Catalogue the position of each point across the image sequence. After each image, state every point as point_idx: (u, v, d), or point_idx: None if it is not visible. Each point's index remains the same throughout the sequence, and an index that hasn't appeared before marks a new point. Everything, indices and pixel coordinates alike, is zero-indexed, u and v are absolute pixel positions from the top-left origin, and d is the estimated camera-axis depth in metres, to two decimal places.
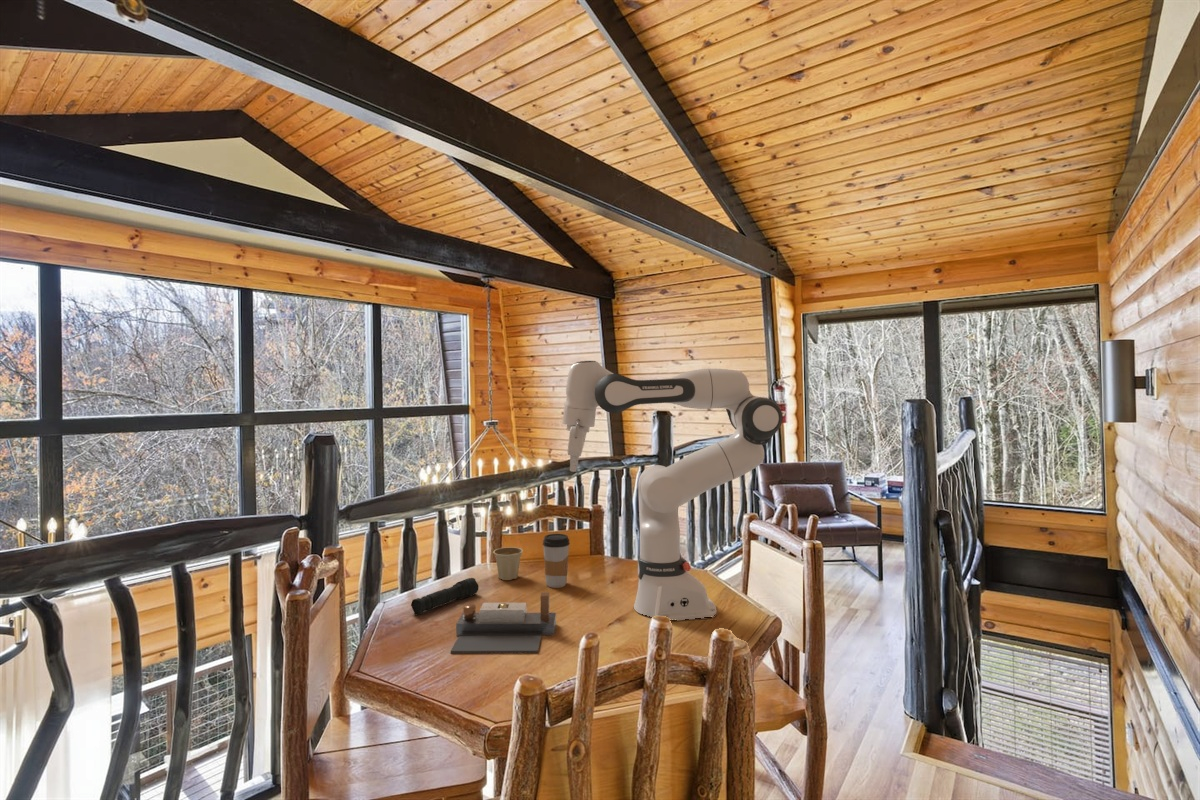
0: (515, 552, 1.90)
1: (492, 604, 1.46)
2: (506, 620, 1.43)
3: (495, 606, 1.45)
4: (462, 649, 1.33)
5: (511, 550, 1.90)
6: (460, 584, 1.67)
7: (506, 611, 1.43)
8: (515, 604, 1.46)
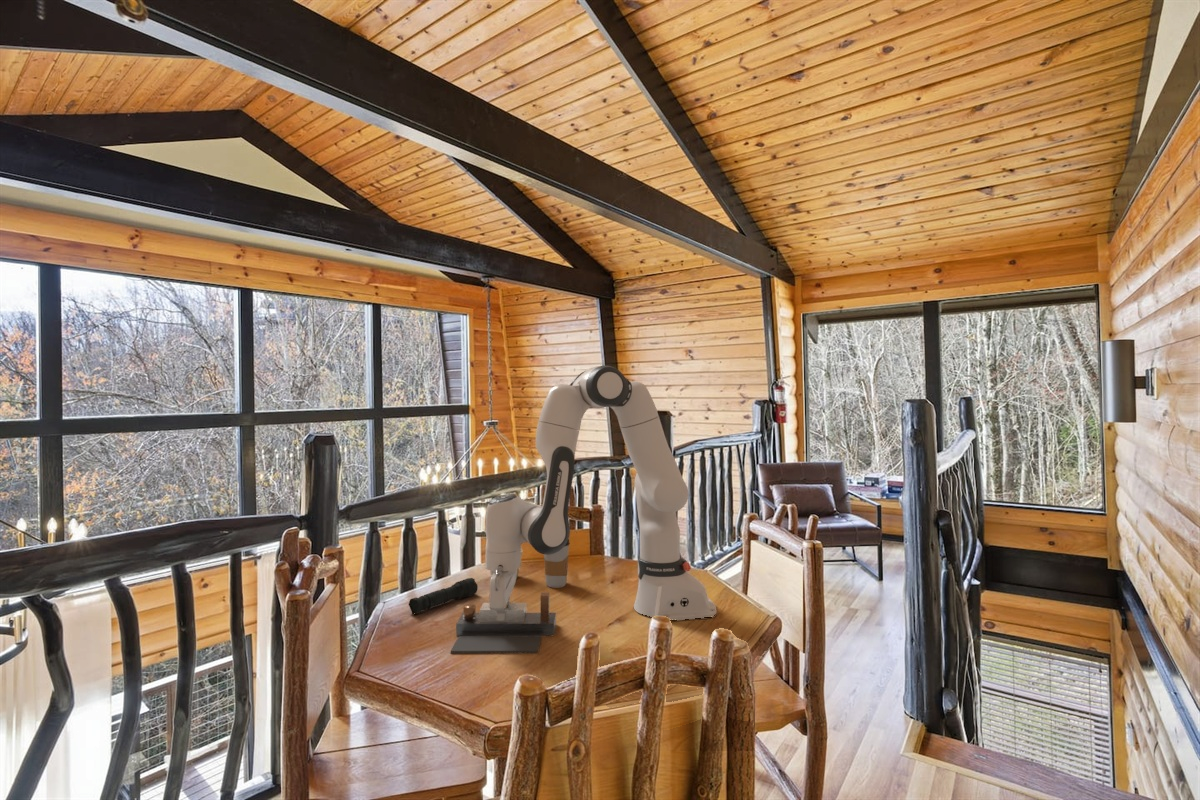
0: None
1: None
2: (506, 620, 1.43)
3: None
4: (462, 649, 1.33)
5: None
6: (459, 584, 1.67)
7: (506, 611, 1.43)
8: (515, 604, 1.46)
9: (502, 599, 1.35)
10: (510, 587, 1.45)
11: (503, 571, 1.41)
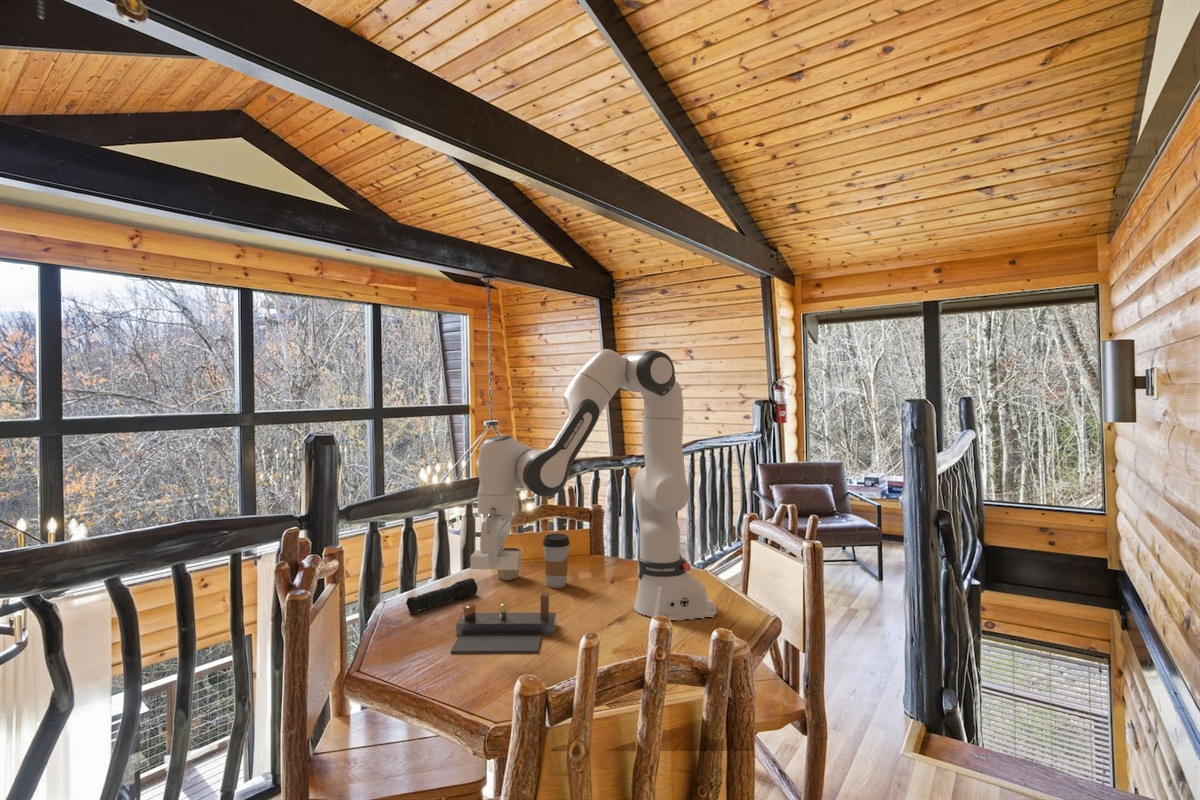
0: None
1: None
2: (499, 567, 1.34)
3: None
4: (462, 649, 1.33)
5: (511, 550, 1.90)
6: (458, 584, 1.67)
7: (499, 558, 1.34)
8: (509, 552, 1.38)
9: (494, 542, 1.27)
10: (504, 533, 1.37)
11: (496, 514, 1.32)
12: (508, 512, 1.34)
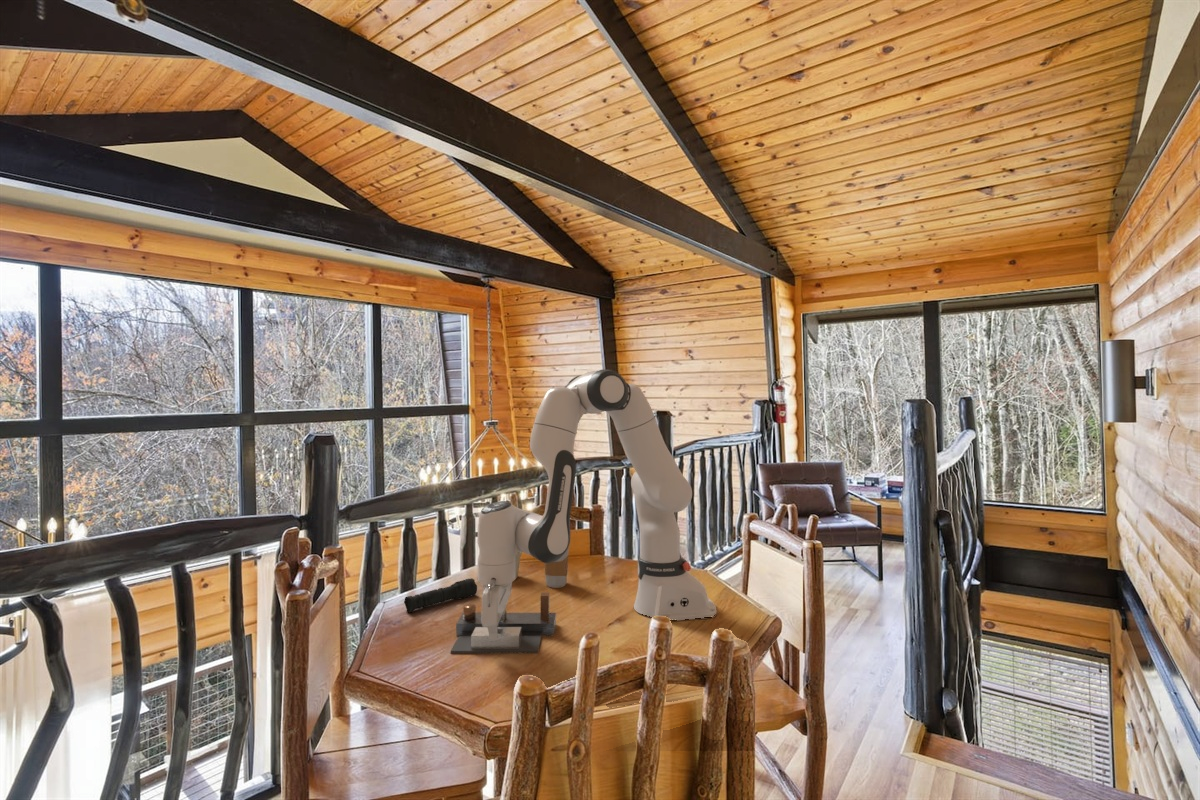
0: None
1: (485, 629, 1.37)
2: (500, 647, 1.33)
3: None
4: (462, 649, 1.33)
5: None
6: (457, 584, 1.67)
7: (500, 637, 1.33)
8: (509, 629, 1.37)
9: (495, 615, 1.26)
10: (504, 601, 1.36)
11: (496, 585, 1.31)
12: (508, 581, 1.33)
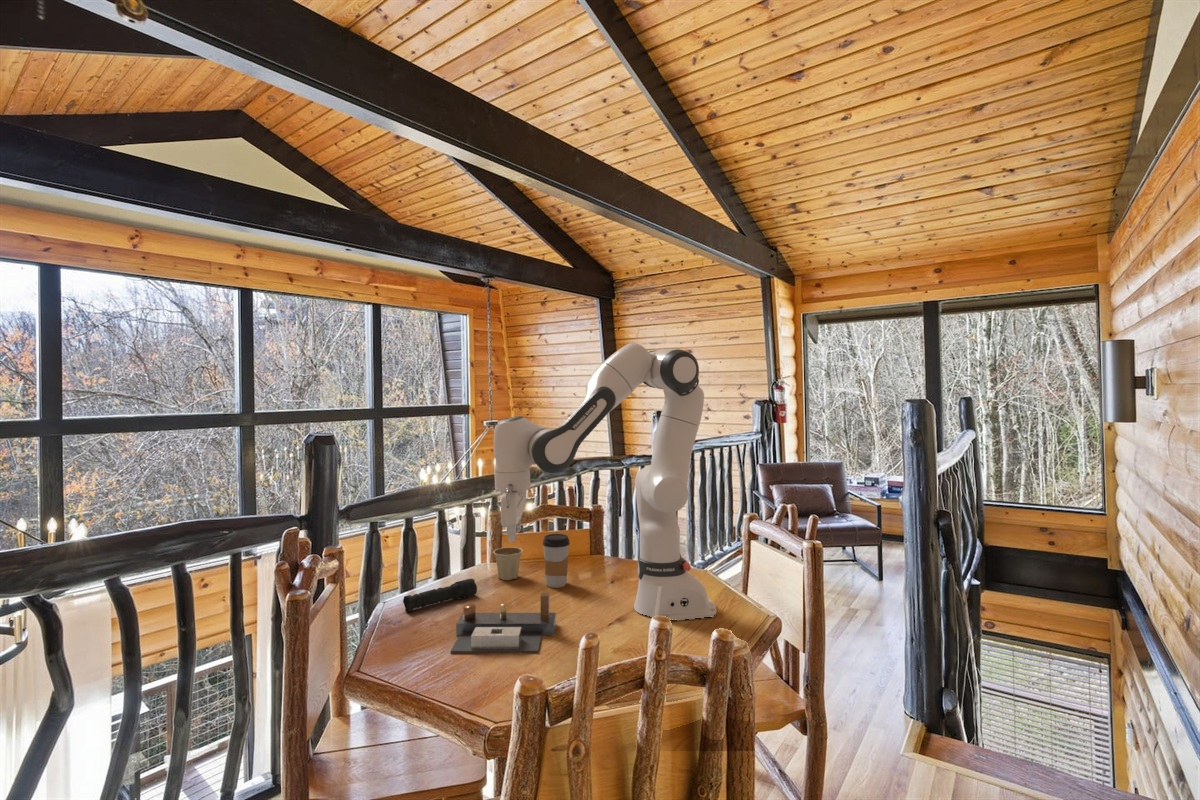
0: (515, 552, 1.90)
1: (485, 629, 1.37)
2: (500, 647, 1.33)
3: (488, 631, 1.36)
4: (462, 649, 1.33)
5: (511, 550, 1.90)
6: (457, 584, 1.67)
7: (500, 637, 1.33)
8: (509, 629, 1.37)
9: (514, 515, 1.35)
10: (520, 509, 1.45)
11: (513, 490, 1.40)
12: (524, 488, 1.42)
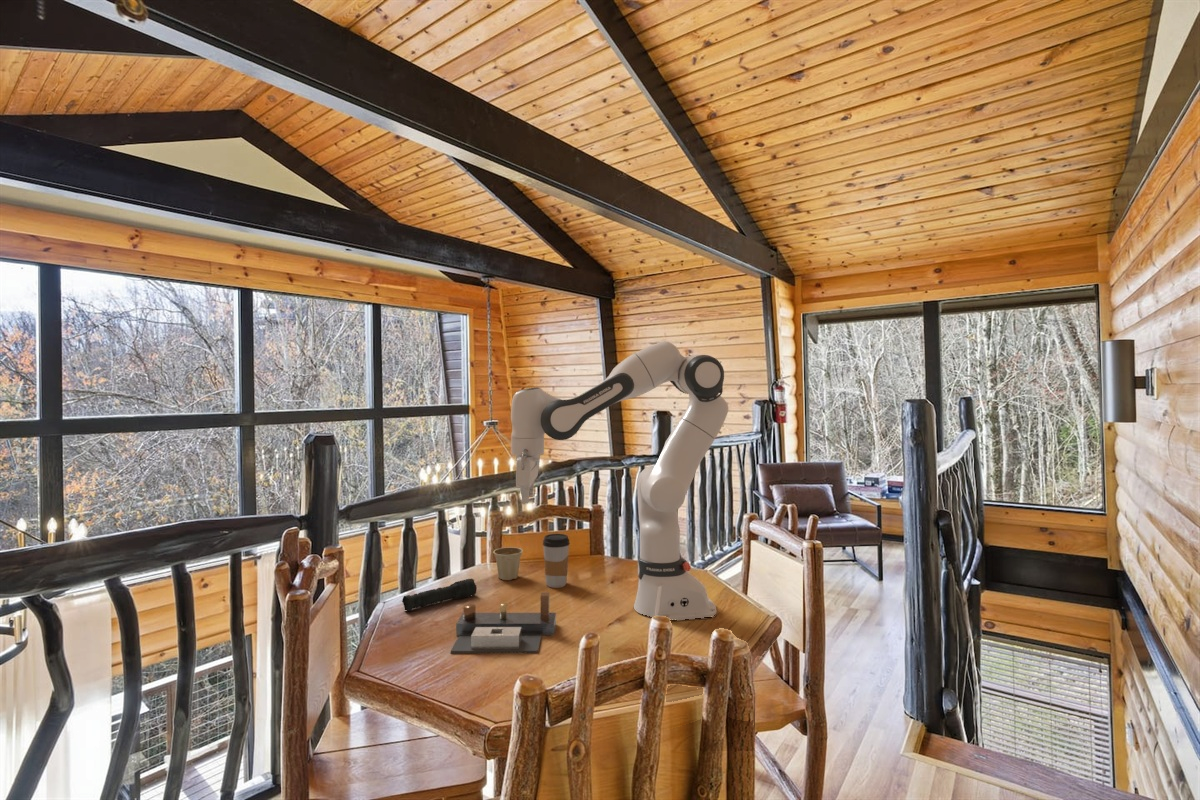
0: (515, 552, 1.90)
1: (485, 629, 1.37)
2: (500, 647, 1.33)
3: (488, 631, 1.36)
4: (462, 649, 1.33)
5: (511, 550, 1.90)
6: (456, 584, 1.67)
7: (500, 637, 1.33)
8: (509, 629, 1.37)
9: (528, 477, 1.45)
10: (534, 474, 1.55)
11: (528, 455, 1.50)
12: (538, 453, 1.52)
